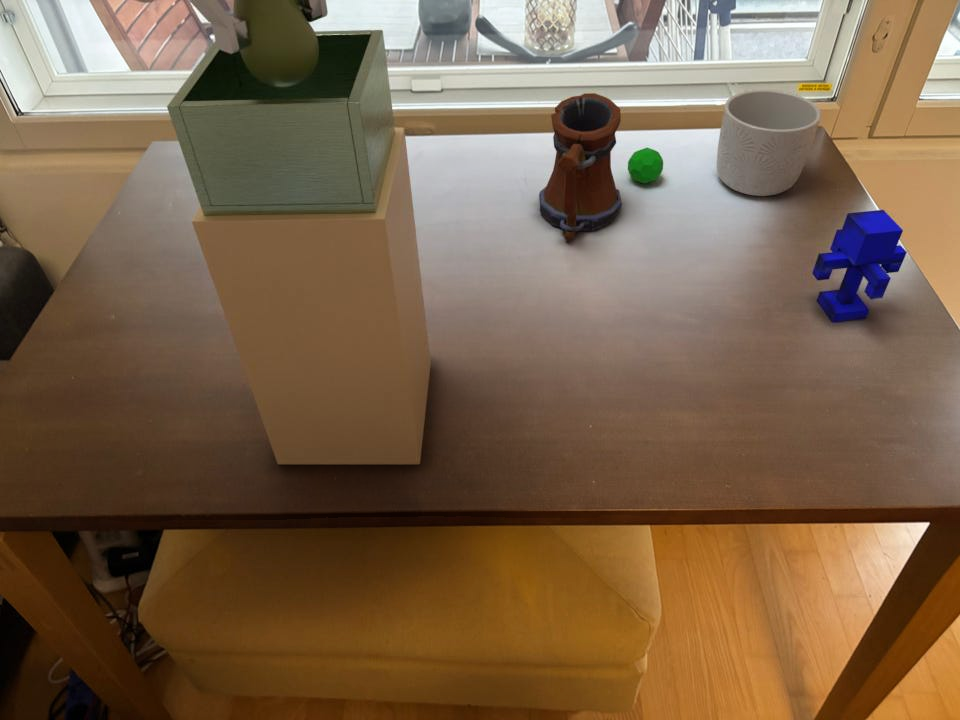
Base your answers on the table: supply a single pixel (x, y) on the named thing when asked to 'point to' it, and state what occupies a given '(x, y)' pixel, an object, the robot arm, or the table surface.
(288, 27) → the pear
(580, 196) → the mug
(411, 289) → the bin
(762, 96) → the planter
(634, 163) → the polyhedron
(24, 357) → the table surface
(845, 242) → the figurine
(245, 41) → the robot arm
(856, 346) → the table surface
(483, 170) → the table surface
